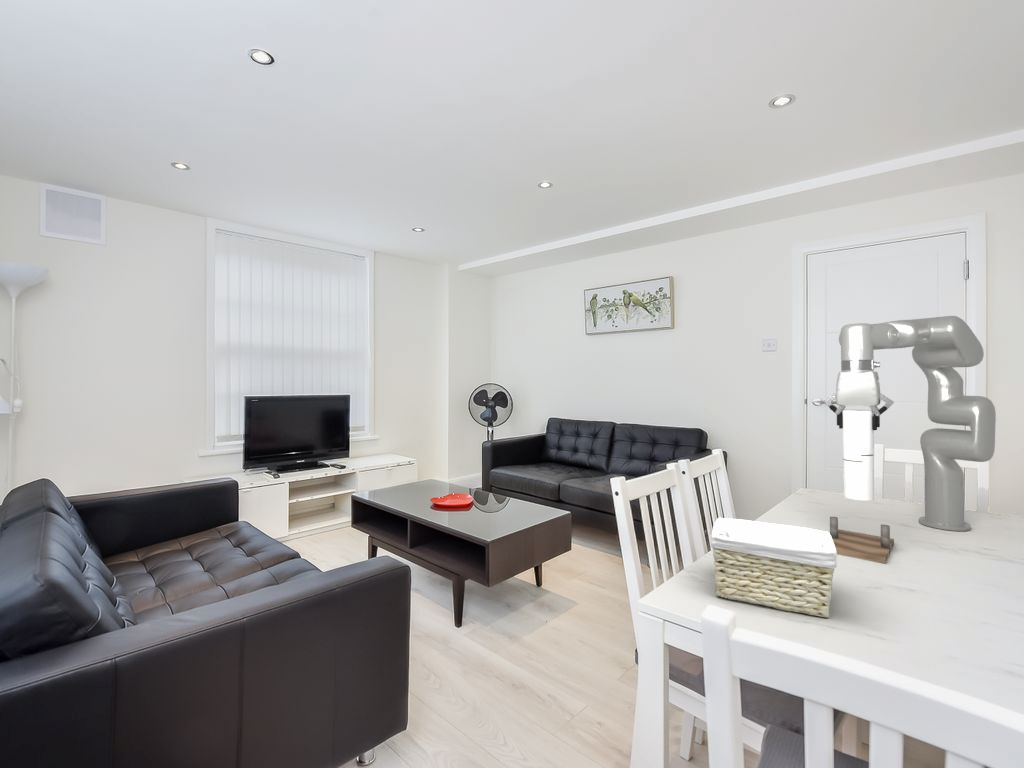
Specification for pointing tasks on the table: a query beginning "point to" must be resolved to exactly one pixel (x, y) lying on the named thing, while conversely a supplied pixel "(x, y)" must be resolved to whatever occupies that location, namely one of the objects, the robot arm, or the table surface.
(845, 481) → the cylindrical container
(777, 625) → the table surface
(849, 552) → the board
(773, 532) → the storage basket
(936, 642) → the table surface
